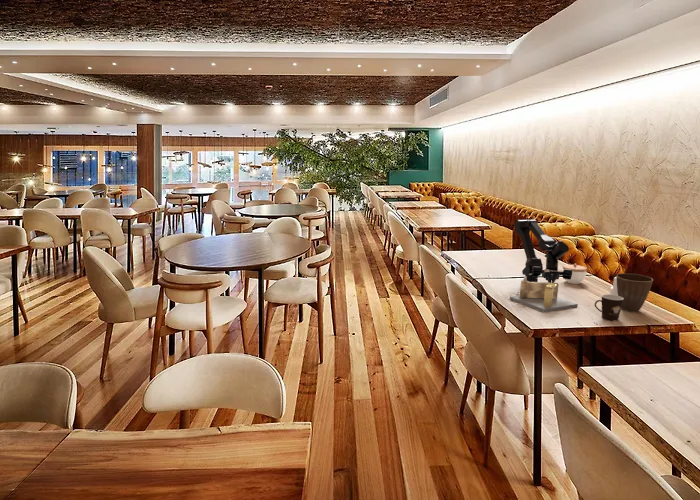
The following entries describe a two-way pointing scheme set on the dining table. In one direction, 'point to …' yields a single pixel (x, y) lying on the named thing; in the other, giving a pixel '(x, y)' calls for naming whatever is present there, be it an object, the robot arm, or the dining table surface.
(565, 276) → the robot arm
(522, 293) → the ash link
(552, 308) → the slate board
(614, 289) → the cream cylindrical piece
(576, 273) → the lidded bowl
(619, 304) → the coffee mug
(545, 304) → the brass keeper
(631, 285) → the plant pot
